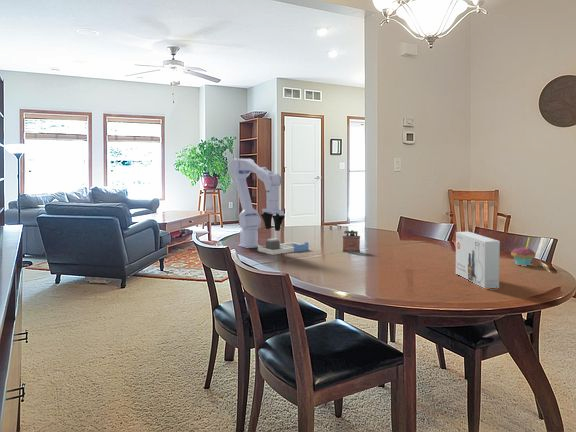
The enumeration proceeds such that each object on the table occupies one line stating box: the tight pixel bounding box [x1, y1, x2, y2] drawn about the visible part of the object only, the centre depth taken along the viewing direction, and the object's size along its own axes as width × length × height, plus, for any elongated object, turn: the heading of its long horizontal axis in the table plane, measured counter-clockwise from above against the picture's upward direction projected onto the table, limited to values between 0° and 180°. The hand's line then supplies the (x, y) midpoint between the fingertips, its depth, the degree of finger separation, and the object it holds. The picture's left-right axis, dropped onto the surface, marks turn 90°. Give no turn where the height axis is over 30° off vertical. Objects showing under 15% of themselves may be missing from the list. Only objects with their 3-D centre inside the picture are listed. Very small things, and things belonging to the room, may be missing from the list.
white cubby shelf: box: [257, 241, 310, 256], centre depth 213 cm, size 13×21×4 cm, turn 127°
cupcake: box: [510, 235, 536, 266], centre depth 179 cm, size 9×8×12 cm
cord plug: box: [265, 238, 281, 250], centre depth 209 cm, size 4×5×6 cm
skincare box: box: [455, 231, 501, 289], centre depth 153 cm, size 21×5×16 cm, turn 5°
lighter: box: [341, 229, 361, 254], centre depth 209 cm, size 8×3×10 cm, turn 84°
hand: (272, 229), depth 208 cm, fingers open, 7 cm apart
